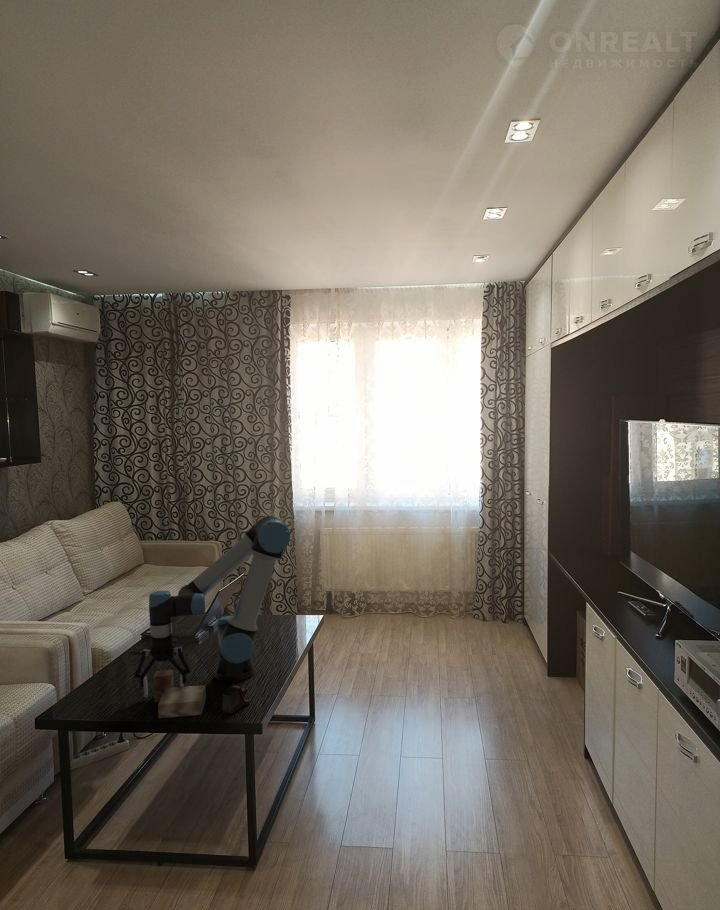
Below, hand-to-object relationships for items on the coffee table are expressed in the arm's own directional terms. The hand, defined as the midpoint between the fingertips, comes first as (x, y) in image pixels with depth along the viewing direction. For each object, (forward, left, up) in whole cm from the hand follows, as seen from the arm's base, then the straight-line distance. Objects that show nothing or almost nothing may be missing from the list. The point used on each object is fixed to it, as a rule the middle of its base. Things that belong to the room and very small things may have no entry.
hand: (164, 694), depth 231 cm
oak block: (-8, +10, -2) cm, 13 cm away
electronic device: (-27, +14, -2) cm, 30 cm away
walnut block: (0, 0, -1) cm, 1 cm away
